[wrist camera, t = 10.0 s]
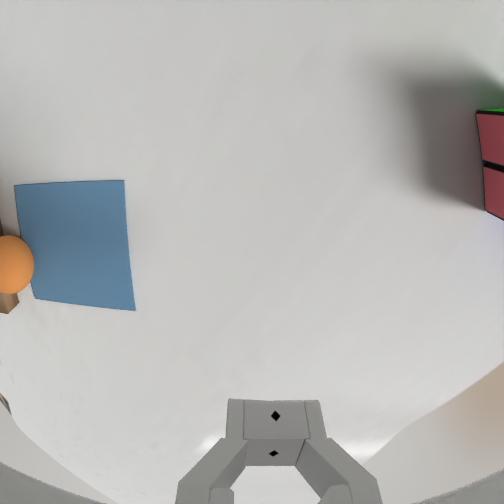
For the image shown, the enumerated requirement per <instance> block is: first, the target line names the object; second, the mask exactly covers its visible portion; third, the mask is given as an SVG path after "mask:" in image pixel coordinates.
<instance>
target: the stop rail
mask: <svg viewBox="0 0 504 504" xmlns="http://www.w3.org/2000/svg"><path fill="white" fill-rule="evenodd" d="M1 236H3V232H2V226H1V220H0V237H1ZM18 303H19V300H18V297H17V293H14V294H5V293H2V292H0V313H5V314H8V313H9V312H10V311H11V310H12V309H13V308H14V307H15V306H16V305H17V304H18Z"/></svg>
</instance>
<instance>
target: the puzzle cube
mask: <svg viewBox="0 0 504 504" xmlns="http://www.w3.org/2000/svg"><path fill="white" fill-rule="evenodd" d="M476 117H477V123H478V129H479V136H480V144H481V152H482V160H483V161H484V162H485V163H484V165H483V173H484V188H485V210H486V211H487V212H488V213H490V214H492V215H494V216H496V217H498V218H500V219H501V220H503V221H504V108H496V109H484V110H477V113H476Z"/></svg>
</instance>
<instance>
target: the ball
mask: <svg viewBox="0 0 504 504" xmlns="http://www.w3.org/2000/svg"><path fill="white" fill-rule="evenodd" d="M33 272H34V258H33V254H32V252H31V250H30V248H29V246H28V245H27V244H26V243H25V242H24V241H23V240H22V239H20V238H18V237H16V236H13V235H5V236H1V237H0V292H2V293H5V294H14V293H17V292H19V291H21V290H23V289H24V288H25V287H26V286H27V285H28V284H29V282H30V280H31V278H32V276H33Z"/></svg>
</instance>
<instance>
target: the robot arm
mask: <svg viewBox="0 0 504 504" xmlns="http://www.w3.org/2000/svg"><path fill="white" fill-rule="evenodd" d="M270 465H271V466H295V467H296V468H297V470H298V471H299V472H300V474H301V475H302V476H303V477H304V479H305V480H306V481H307V482H308V483H309V485H310V486H311V487H312V488H313V490H314V491H315V492H316V493H317V494H318V496H319V497H320V498H321V500H320V501H319V503H318V504H383V503H382V500H381V496H380V492H379V488H378V484H377V480H376V478H375V477H374V476H372V475H371V474H370V473H369V472H368V471H367V470H366V469H365V468H363V467H362V466H361V465H360V464H359V463H358V462H357V461H356V460H355V459H353V458H352V457H351V456H350V455H349V454H348V453H347V452H346V451H345V450H344V449H342V448H341V447H340V446H339V445H338V444H337V443H336V442H335V441H334V440H333V439H332V438H327V436H326V431H325V426H324V421H323V416H322V411H321V407H320V402H319V401H318V400H284V401H261V400H245V399H229V400H228V408H227V423H226V438H221V439H220V440H219V441H218V442H217V443H216V444H215V445H214V446H213V447H212V448H211V449H210V451H209V452H208V453H207V454H206V455H205V456H204V457H203V458H202V459H201V460H200V461H199V462H198V463H197V464H196V465H195V466H194V467H193V468H192V469H191V470H190V471H189V472H188V473H187V474H186V475H185V476H184V477H183V478H182V479H181V480H180V481H179V482H178V489H177V495H176V502H175V504H234V492H233V491H232V490H231V489H230V487H231V486H232V484H233V483H234V482H235V480H236V479H237V478H238V476H239V475H240V474H241V472H242V471H243V470H244V468H245V466H270ZM0 504H105V503H102V502H98V501H95V500H92V499H89V498H85V497H82V496H79V495H76V494H73V493H71V492H68V491H65V490H62V489H59V488H57V487H54V486H52V485H49V484H47V483H44V482H42V481H40V480H37V479H35V478H32V477H30V476H28V475H26V474H24V473H21V472H19V471H17V470H15V469H13V468H11V467H9V466H7V465H5V464H3V463H1V462H0ZM412 504H504V469H502V470H500V471H498V472H496V473H494V474H491V475H489V476H487V477H485V478H483V479H480V480H478V481H475V482H473V483H471V484H468V485H466V486H463V487H461V488H458V489H455V490H453V491H450V492H447V493H444V494H441V495H438V496H435V497H432V498H429V499H426V500H423V501H419V502H416V503H412Z"/></svg>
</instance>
